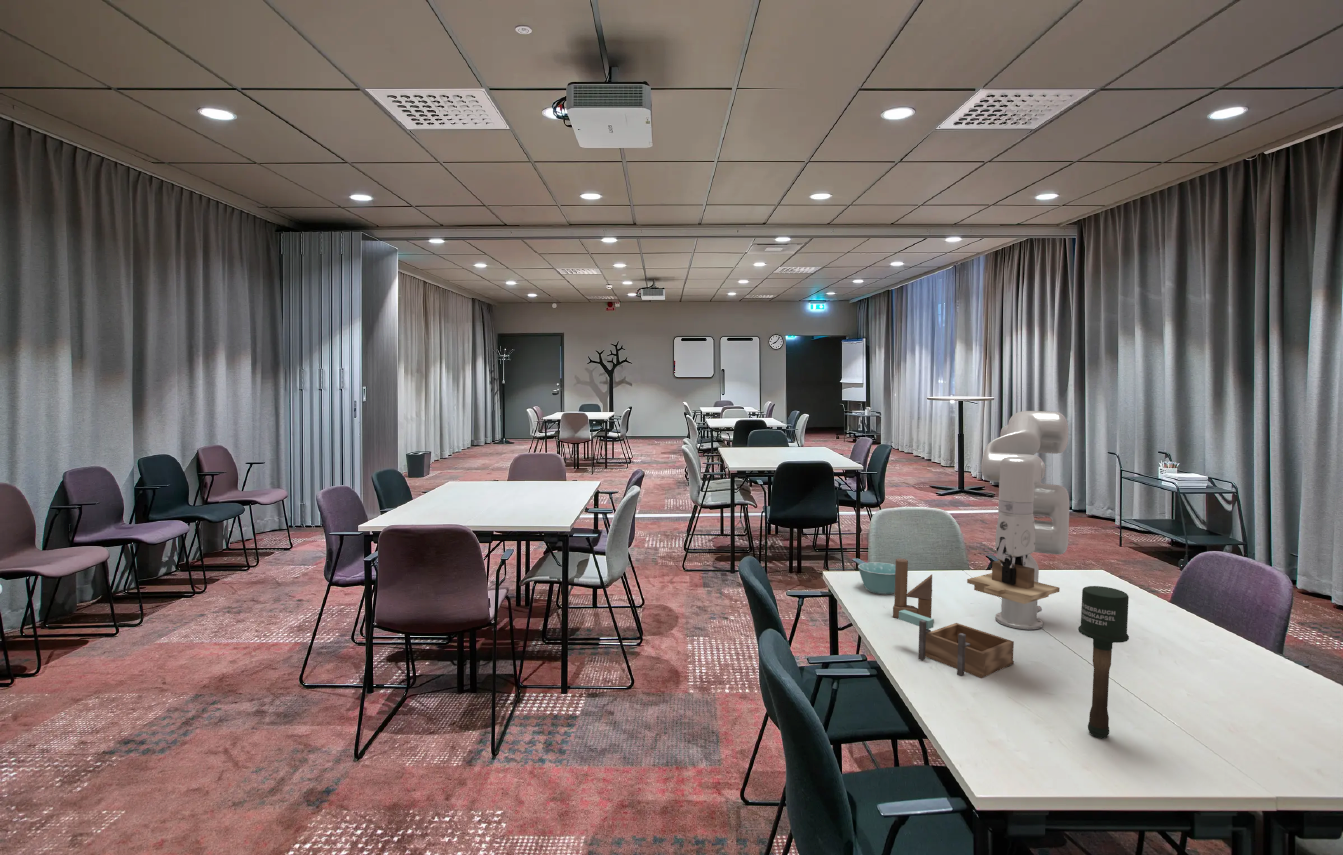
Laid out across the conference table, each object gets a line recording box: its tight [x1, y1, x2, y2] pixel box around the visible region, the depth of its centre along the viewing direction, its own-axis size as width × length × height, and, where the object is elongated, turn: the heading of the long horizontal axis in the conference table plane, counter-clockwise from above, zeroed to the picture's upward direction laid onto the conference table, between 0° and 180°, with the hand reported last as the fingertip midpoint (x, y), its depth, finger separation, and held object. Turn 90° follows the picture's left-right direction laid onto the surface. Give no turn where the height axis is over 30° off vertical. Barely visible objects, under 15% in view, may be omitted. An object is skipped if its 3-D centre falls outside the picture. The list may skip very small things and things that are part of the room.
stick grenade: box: [1077, 585, 1130, 739], centre depth 135 cm, size 8×9×30 cm
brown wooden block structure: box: [892, 557, 933, 619], centre depth 202 cm, size 4×11×18 cm, turn 64°
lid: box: [966, 559, 1060, 604], centre depth 162 cm, size 15×16×7 cm
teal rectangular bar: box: [898, 610, 935, 630], centre depth 177 cm, size 2×9×2 cm, turn 35°
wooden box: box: [917, 620, 1015, 679], centre depth 171 cm, size 18×16×10 cm
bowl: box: [857, 561, 896, 596], centre depth 230 cm, size 16×16×8 cm
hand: (1012, 581), depth 162 cm, fingers closed on lid, 2 cm apart
